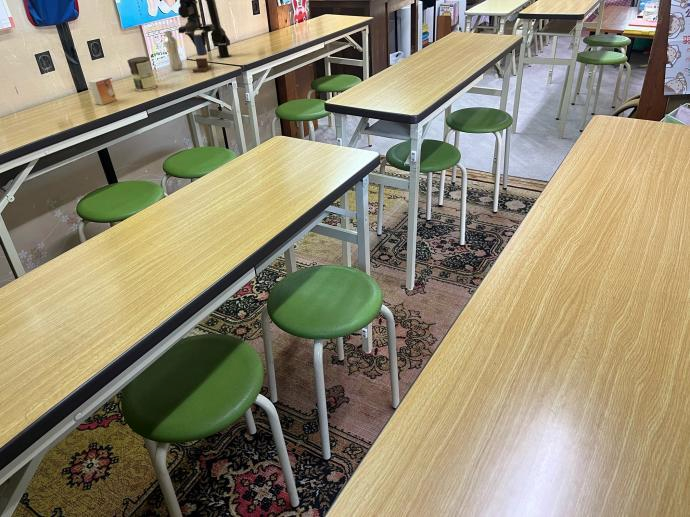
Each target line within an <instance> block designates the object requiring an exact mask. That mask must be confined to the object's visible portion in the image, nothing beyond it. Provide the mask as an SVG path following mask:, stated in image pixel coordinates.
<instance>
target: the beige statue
mask: <svg viewBox="0 0 690 517" xmlns="http://www.w3.org/2000/svg"><path fill="white" fill-rule="evenodd" d="M164 36H165V38H164V45H165V48H166V50H167V53H168V59H169V67H170V69H171V70H173V71H179V70H181V69H183V62H182V60H181V57H180V53H179V47H178V40H177V39H176V38H175V37H174V36H173V32H172V31H171V30H167V31H164Z"/></svg>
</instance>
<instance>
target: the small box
mask: <svg viewBox="0 0 690 517" xmlns="http://www.w3.org/2000/svg"><path fill="white" fill-rule="evenodd" d="M88 85H89V88H90V91H91V95H92V97H93V99H94V103H95V105H102V106H103V105H106V104H109V103H112V102H116V101H117V96H116V93H115V91H114V88H113V84H112V81H111V78H110V77H100V78H99V77H98V78H96V79H92V80H89V81H88Z"/></svg>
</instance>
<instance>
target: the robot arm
mask: <svg viewBox="0 0 690 517" xmlns="http://www.w3.org/2000/svg"><path fill="white" fill-rule="evenodd" d="M204 1H205V2H206V6H207V10H208V15H209V18H210V22H211V23H207V24H205V25H203V23H202V22H201V15H200V13H199V9H198V1H197V0H179V5H180V6H179V7H178V10H177V13H178V15H179V16H180V17H181V18H182V19H187V22H186V23H185V24H184V25H181V26H180V27H178V29H177V30H178V31H177V32H178V34H184V35H185V36H187V37H189V38H190V41H191V42H192V43H193V45H194V46H195V42H194V38H193V35H196V34H195V32H196V31H201V32H200V34H201V35H202V38H203V43H204V46H206V45H207V40H208V35H209V33H210V36H211V42H212V44H213V47H215V48H216V47H217V51H218V55H217V57H218V58H220V59H224V58H229V57H232V54H230V52H229V48H228V47H229V46H231V40H230V38H229V37H228V36H227V34H226V31H225V29H224V28H223V27H222V25H221V21H220V16H219V12H218V8H217V4H216V0H204Z"/></svg>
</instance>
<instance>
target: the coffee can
mask: <svg viewBox="0 0 690 517" xmlns="http://www.w3.org/2000/svg"><path fill="white" fill-rule="evenodd" d="M126 62H127V64H128V67H129V71H130V74H131V78H132V80H133V84H134V87H135V90H136V91H137V92H138V91H139V92H143V91H150V90H153V89H156V87H157V83H156V79H155V76H154V73H153V69H152V64H151V61H150V57H149V56H137V57H132V58H129V59H127V61H126Z"/></svg>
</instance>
